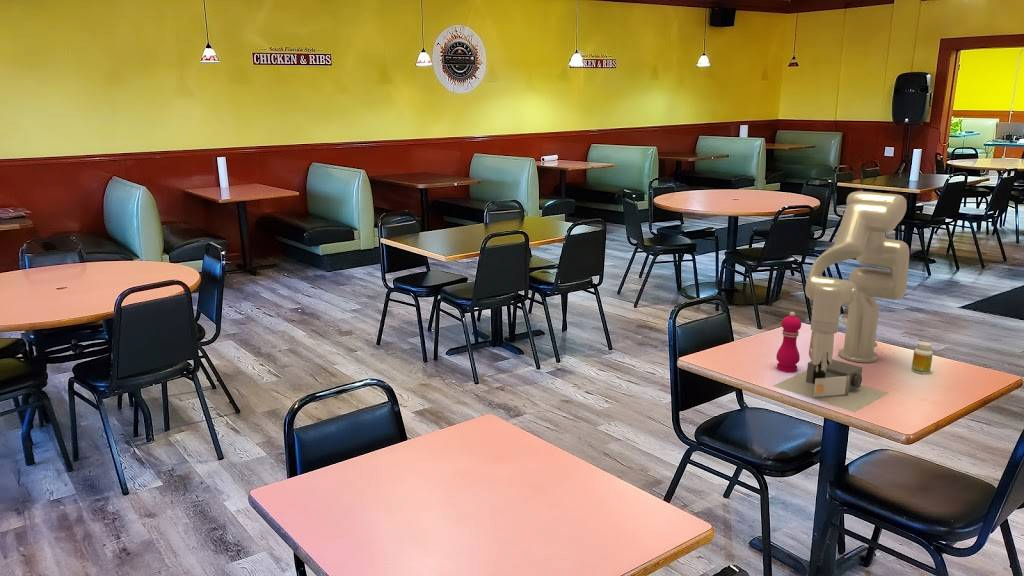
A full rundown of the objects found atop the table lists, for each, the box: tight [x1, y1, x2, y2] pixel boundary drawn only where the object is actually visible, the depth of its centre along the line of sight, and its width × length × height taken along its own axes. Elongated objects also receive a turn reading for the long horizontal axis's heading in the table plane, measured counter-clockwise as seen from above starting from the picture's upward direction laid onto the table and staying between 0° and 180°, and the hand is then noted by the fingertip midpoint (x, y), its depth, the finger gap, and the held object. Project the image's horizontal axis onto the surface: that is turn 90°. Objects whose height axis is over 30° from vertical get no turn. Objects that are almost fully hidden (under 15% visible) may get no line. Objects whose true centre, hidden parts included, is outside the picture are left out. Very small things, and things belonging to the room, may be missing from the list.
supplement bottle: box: [911, 341, 934, 375], centre depth 249 cm, size 5×5×10 cm
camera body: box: [806, 358, 863, 393], centre depth 236 cm, size 9×14×7 cm, turn 41°
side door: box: [814, 375, 850, 397], centre depth 227 cm, size 2×11×6 cm, turn 102°
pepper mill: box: [775, 311, 802, 373], centre depth 248 cm, size 7×7×20 cm
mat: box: [772, 370, 889, 413], centre depth 234 cm, size 22×26×1 cm
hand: (818, 383), depth 229 cm, fingers closed
